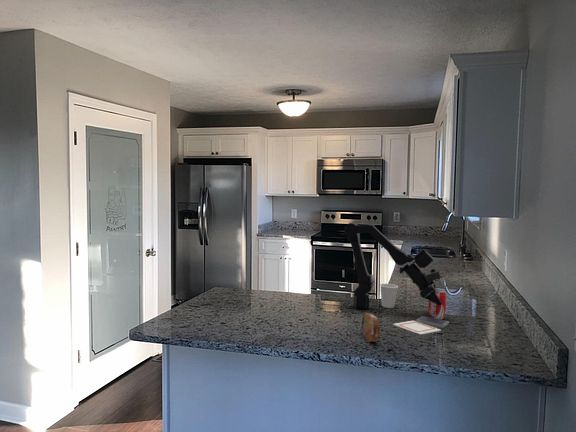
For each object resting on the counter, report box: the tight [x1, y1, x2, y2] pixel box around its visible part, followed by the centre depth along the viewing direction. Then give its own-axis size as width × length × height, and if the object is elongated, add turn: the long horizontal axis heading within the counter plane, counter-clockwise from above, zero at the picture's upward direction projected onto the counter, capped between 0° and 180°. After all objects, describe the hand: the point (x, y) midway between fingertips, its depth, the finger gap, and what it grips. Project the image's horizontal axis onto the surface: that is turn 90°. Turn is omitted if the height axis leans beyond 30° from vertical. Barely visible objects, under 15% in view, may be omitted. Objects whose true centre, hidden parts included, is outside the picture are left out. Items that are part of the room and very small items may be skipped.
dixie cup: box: [379, 283, 399, 309], centre depth 212 cm, size 8×8×10 cm
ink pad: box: [415, 315, 450, 329], centre depth 187 cm, size 11×8×1 cm
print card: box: [392, 320, 442, 335], centre depth 180 cm, size 14×12×1 cm
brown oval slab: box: [361, 312, 381, 343], centre depth 163 cm, size 15×3×8 cm, turn 5°
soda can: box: [428, 288, 447, 320], centre depth 196 cm, size 7×7×12 cm
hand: (440, 303), depth 196 cm, fingers closed on soda can, 7 cm apart
